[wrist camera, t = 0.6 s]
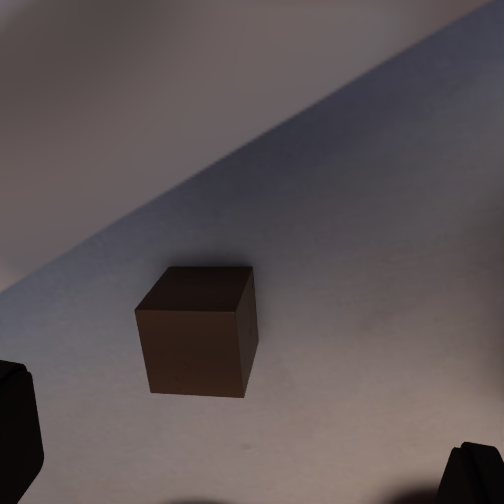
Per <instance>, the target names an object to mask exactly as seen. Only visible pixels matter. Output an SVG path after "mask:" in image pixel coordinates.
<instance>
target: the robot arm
mask: <svg viewBox="0 0 504 504" xmlns="http://www.w3.org/2000/svg"><path fill="white" fill-rule="evenodd" d="M43 462H44V451H43V445H42V438H41V432H40V425H39V419H38V412H37V405H36V399H35V392H34V386H33V379H32V375H31V373H30V372H28V371H27V369H26V366H25V365H24V364H20V363H15V362H9V361H3V360H0V504H17V503H18V502H19V500H20V499H21V497H22V496H23V495H24V493H25V492H26V490H27V489H28V488H29V486H30V485H31V483H32V482H33V481H34V479H35V478H36V476H37V475H38V474H39V472H40V470H41V468H42V465H43ZM433 504H504V462H503V460H502V457H501V455H500V453H499V451H498V450H497V448H495V447H494V446H488V445H482V444H476V443H471V442H464V443H462V445H461V447H460V448H456V447H454V448H453V449H452V451H451V453H450V456H449V459H448V462H447V465H446V468H445V471H444V474H443V477H442V479H441V482H440V485H439V488H438V491H437V494H436V497H435V500H434V503H433Z"/></svg>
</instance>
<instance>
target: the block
mask: <svg viewBox="0 0 504 504" xmlns="http://www.w3.org/2000/svg"><path fill="white" fill-rule="evenodd" d="M135 316H136V321H137V326H138V331H139V336H140V341H141V346H142V351H143V356H144V361H145V366H146V371H147V377H148V382H149V387H150V392H151V393H162V394H180V395H198V396H216V397H234V398H244V396H245V392H246V388H247V384H248V380H249V377H250V373H251V369H252V365H253V361H254V358H255V354H256V350H257V346H258V342H259V340H258V327H257V315H256V302H255V289H254V276H253V267H168V269H167V270H166V271H165V272H164V274H163V275H162V276H161V277H160V279H159V280H158V281H157V282H156V284H155V285H154V286H153V287H152V289H151V290H150V291H149V292H148V294H147V295H146V296H145V297H144V299H143V300H142V301H141V302H140V304H139V305H138V306H137V307H136V309H135Z"/></svg>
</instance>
